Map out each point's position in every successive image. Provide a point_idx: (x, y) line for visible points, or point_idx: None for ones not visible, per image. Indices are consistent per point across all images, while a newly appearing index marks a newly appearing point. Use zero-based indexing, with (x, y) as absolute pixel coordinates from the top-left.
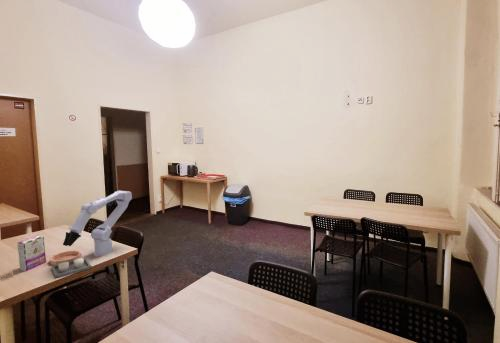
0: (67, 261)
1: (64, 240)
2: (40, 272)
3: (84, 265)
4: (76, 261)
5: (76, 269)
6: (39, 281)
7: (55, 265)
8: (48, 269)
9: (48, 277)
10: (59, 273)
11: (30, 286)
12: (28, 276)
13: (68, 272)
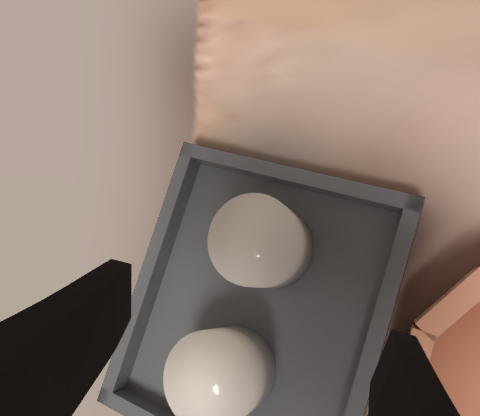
0: None
1: (433, 402)
2: (459, 121)
3: None
4: (184, 337)
5: (143, 288)
6: (272, 67)
7: (410, 229)
8: (467, 191)
9: (281, 129)
10: None
11: (249, 10)
12: (460, 32)
13: (157, 226)
